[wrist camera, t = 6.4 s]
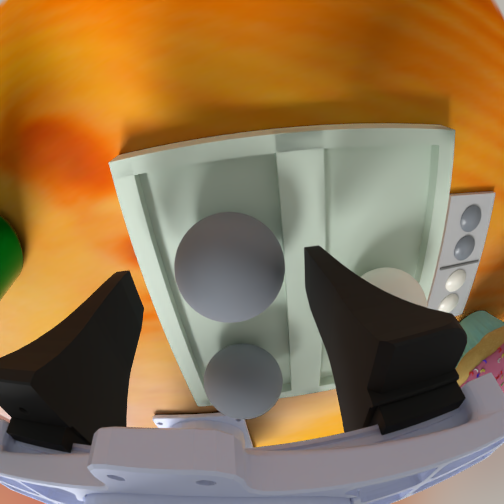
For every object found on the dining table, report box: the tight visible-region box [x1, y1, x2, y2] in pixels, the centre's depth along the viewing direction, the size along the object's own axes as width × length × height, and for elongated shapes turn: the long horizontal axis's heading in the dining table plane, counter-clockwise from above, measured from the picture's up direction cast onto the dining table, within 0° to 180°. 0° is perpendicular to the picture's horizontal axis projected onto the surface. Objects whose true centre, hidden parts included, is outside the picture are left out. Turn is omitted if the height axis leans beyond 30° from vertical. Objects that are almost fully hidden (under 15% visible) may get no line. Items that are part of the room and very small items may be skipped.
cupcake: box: [455, 311, 504, 393], centre depth 17 cm, size 9×8×12 cm
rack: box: [109, 123, 455, 406], centre depth 17 cm, size 18×16×1 cm
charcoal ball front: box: [174, 212, 285, 323], centre depth 13 cm, size 5×5×5 cm
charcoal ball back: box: [204, 343, 283, 419], centre depth 17 cm, size 5×5×5 cm
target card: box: [427, 191, 495, 316], centre depth 18 cm, size 10×4×1 cm, turn 7°
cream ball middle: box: [361, 267, 427, 307], centre depth 15 cm, size 5×5×5 cm
